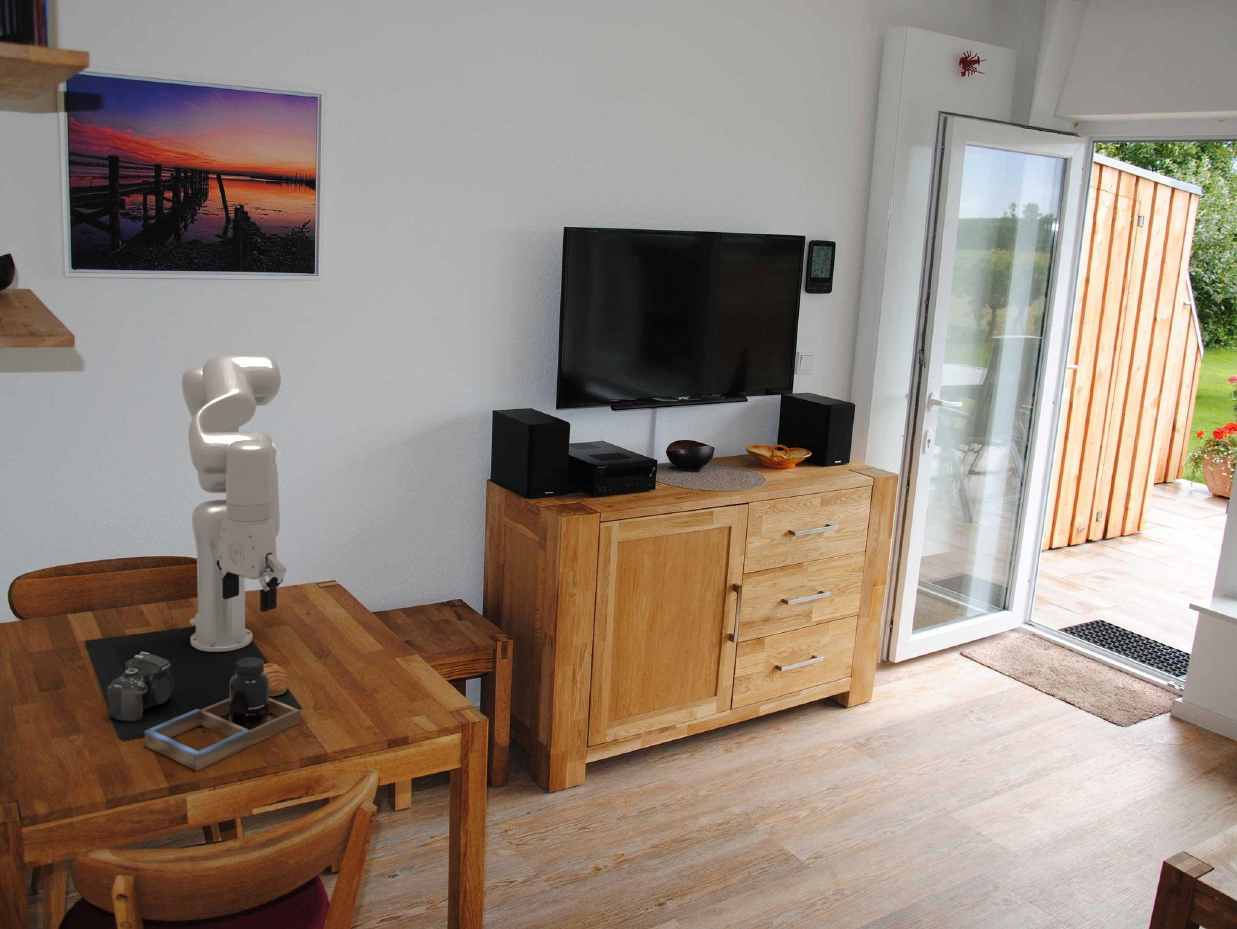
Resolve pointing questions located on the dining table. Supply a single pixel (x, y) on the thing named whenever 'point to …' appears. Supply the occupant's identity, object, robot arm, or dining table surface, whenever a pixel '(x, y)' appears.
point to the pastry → (276, 679)
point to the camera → (139, 687)
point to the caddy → (210, 718)
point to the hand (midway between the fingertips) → (249, 603)
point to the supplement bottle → (249, 694)
